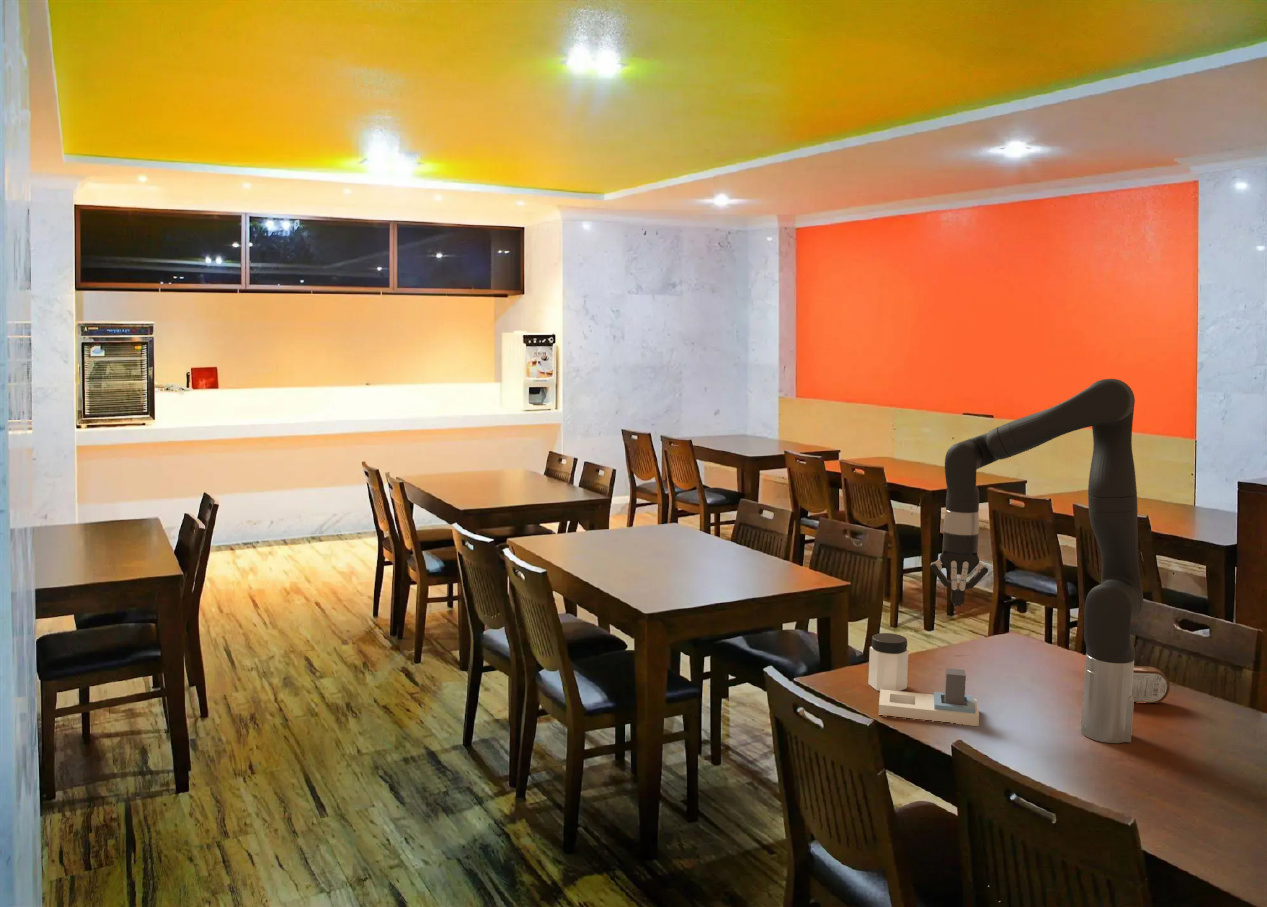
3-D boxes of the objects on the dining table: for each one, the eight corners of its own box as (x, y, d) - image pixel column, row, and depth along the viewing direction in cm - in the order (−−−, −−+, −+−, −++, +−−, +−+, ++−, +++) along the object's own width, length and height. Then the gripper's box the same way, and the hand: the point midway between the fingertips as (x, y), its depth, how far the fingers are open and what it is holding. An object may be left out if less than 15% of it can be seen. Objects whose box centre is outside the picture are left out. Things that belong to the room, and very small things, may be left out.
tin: (1164, 701, 237) (1167, 666, 236) (1170, 706, 234) (1173, 670, 233) (1097, 698, 238) (1099, 663, 237) (1101, 703, 235) (1104, 667, 234)
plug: (962, 712, 228) (964, 669, 227) (963, 719, 224) (965, 675, 223) (943, 711, 229) (945, 668, 228) (944, 717, 225) (946, 673, 224)
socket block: (975, 709, 230) (976, 694, 230) (978, 726, 221) (979, 710, 220) (879, 699, 236) (880, 685, 235) (878, 715, 226) (879, 700, 226)
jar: (912, 691, 241) (914, 642, 239) (880, 694, 239) (882, 644, 238) (894, 678, 250) (896, 631, 248) (863, 681, 248) (865, 633, 246)
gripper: (991, 528, 231) (986, 603, 233) (930, 525, 234) (926, 598, 236) (993, 535, 223) (989, 612, 226) (930, 531, 227) (926, 607, 229)
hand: (957, 605), depth 231 cm, fingers closed
